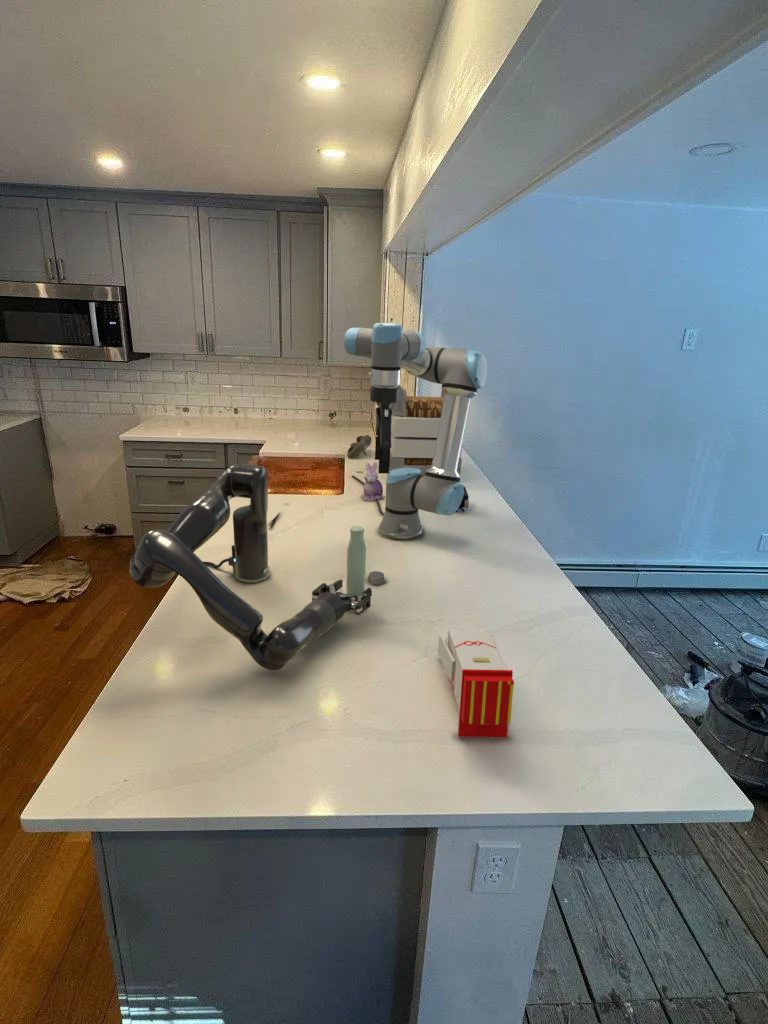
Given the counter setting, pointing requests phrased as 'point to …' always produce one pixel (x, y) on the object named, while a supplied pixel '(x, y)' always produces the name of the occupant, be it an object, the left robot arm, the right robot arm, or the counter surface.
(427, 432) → the grey slatted crate
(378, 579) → the cap
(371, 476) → the figurine
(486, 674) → the toy
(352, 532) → the bottle
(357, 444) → the fossil
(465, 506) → the figurine character
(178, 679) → the counter surface
